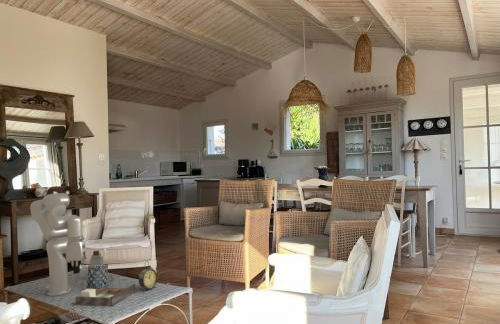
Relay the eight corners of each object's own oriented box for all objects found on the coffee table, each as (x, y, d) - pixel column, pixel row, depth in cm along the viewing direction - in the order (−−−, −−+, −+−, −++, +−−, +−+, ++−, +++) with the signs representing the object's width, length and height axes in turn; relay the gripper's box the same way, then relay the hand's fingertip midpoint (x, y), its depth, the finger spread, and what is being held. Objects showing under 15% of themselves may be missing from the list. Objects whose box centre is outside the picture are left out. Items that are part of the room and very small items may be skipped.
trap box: (75, 304, 202) (75, 295, 202) (101, 291, 223) (101, 283, 223) (112, 306, 196) (111, 297, 196) (135, 292, 218) (135, 284, 218)
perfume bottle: (103, 276, 254) (102, 249, 255) (101, 279, 248) (100, 251, 248) (93, 277, 253) (91, 250, 254) (90, 280, 247) (89, 252, 247)
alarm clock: (144, 293, 215) (142, 264, 215) (137, 291, 218) (136, 263, 218) (158, 287, 224) (157, 259, 225) (151, 286, 227) (150, 258, 227)
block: (81, 299, 204) (81, 291, 204) (87, 296, 209) (87, 288, 209) (89, 299, 203) (89, 291, 203) (95, 296, 208) (95, 288, 208)
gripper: (91, 238, 211) (93, 271, 211) (68, 238, 215) (69, 270, 215) (83, 241, 204) (84, 275, 204) (58, 240, 207) (59, 274, 207)
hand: (76, 273), depth 209 cm, fingers closed
